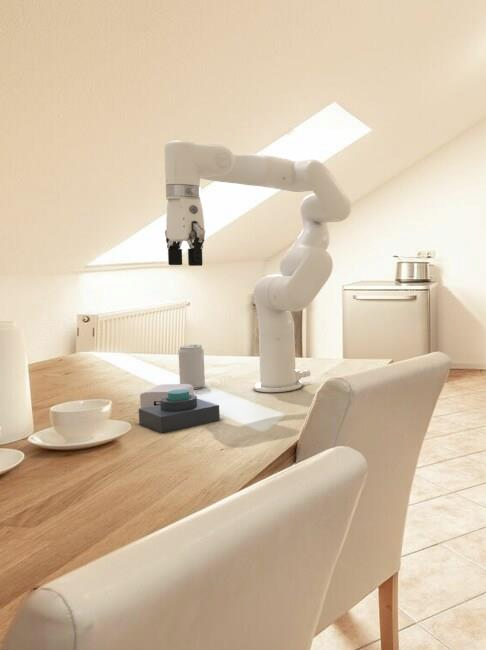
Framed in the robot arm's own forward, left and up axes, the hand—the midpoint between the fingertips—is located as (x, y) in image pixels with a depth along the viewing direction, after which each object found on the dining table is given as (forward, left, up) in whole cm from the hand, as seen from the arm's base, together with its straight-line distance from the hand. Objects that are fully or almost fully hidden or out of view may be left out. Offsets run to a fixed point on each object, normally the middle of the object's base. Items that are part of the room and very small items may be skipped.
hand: (185, 265), depth 152 cm
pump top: (+8, +11, -30) cm, 33 cm away
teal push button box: (+8, +11, -35) cm, 38 cm away
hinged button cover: (+1, -7, -35) cm, 36 cm away
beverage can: (-11, -21, -35) cm, 42 cm away
